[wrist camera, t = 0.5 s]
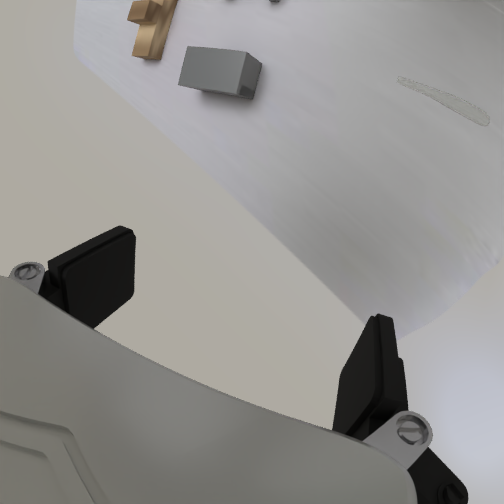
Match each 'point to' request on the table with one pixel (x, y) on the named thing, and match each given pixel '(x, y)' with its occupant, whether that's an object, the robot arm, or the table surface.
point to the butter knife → (449, 101)
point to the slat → (151, 26)
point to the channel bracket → (220, 71)
